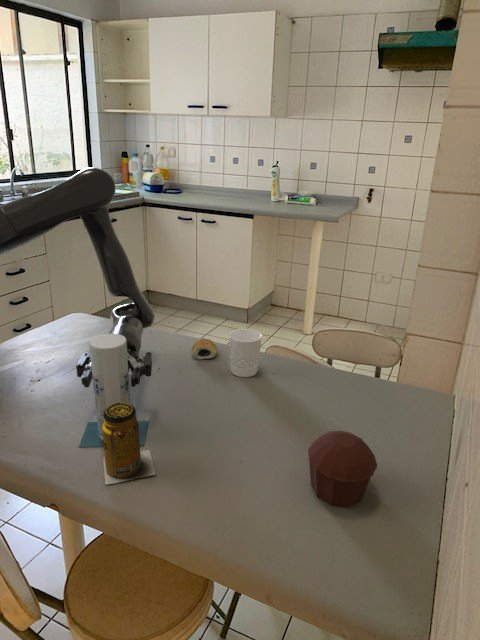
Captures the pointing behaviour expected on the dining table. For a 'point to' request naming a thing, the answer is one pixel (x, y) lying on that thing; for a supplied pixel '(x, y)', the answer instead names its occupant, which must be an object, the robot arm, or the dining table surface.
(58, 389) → the dining table surface
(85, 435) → the mat
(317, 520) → the dining table surface
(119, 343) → the spray can
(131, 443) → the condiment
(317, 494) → the muffin
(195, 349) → the pastry
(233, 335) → the white cup
